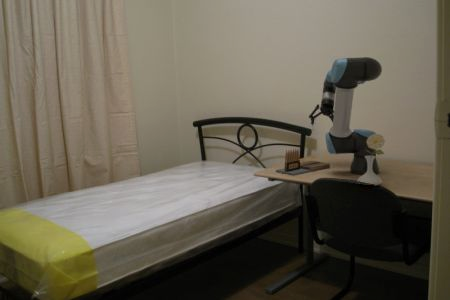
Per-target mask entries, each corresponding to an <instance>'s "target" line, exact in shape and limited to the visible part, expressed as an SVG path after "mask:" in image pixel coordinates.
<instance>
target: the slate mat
mask: <svg viewBox="0 0 450 300" xmlns="http://www.w3.org/2000/svg"><path fill="white" fill-rule="evenodd" d="M275 172H276V173H280V174H285V175H290V176H298V175H303V174H307V173H311V172H310V170H306V169H301V168H300V169H298V170H294V171H289V172H285V167H284V168H279V169H275Z"/></svg>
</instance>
